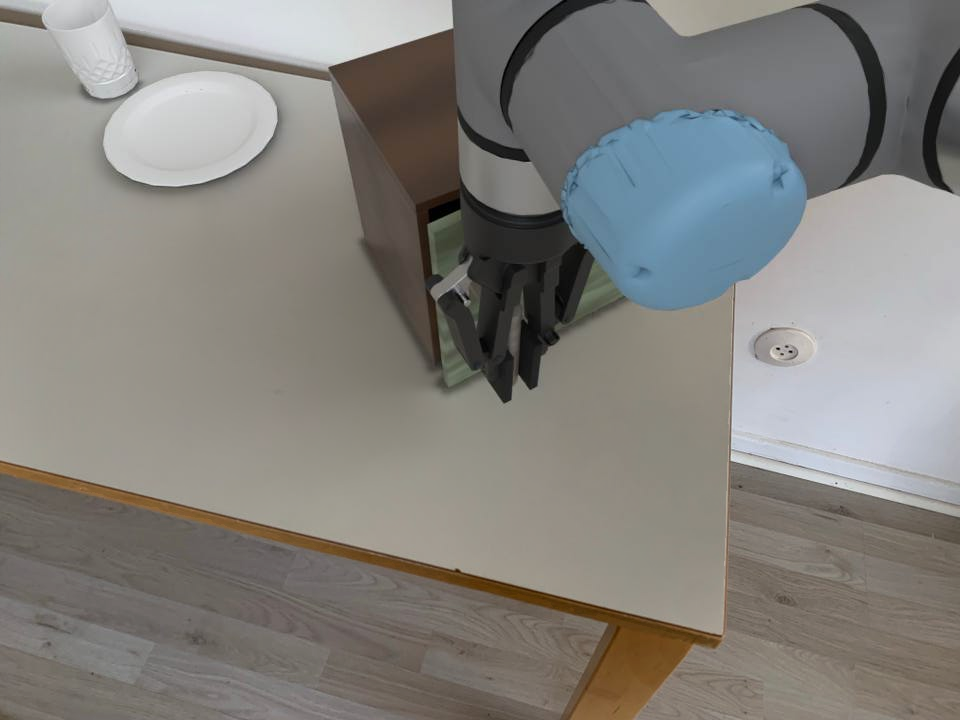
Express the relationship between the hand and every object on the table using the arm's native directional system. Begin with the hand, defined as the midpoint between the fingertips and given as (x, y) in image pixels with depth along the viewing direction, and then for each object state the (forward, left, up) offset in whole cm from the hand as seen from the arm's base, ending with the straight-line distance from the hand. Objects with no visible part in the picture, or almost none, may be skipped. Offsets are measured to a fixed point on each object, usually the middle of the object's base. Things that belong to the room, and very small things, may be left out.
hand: (512, 382), depth 62 cm
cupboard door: (+4, -8, -7) cm, 11 cm away
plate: (+53, +16, -8) cm, 56 cm away
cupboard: (+18, -7, -7) cm, 21 cm away
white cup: (+68, +23, -8) cm, 72 cm away
